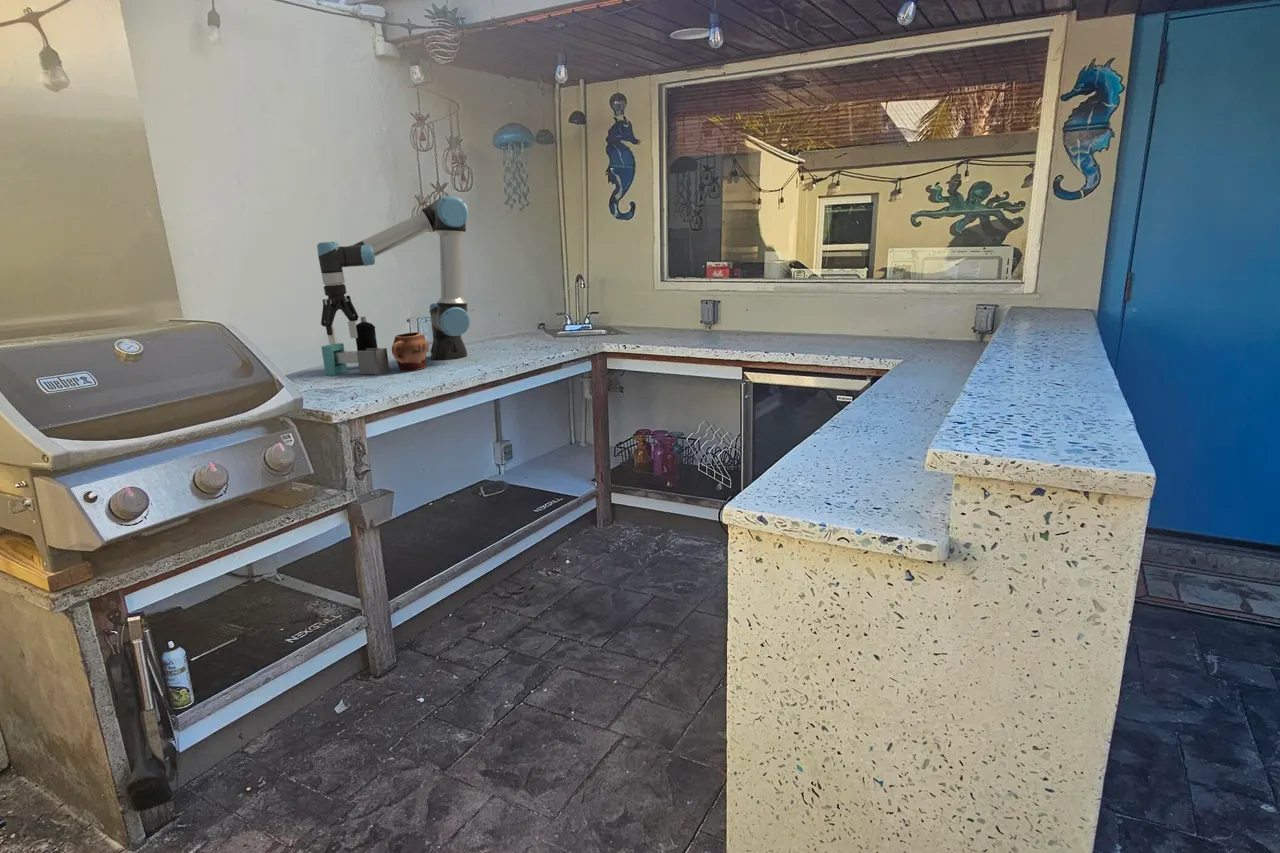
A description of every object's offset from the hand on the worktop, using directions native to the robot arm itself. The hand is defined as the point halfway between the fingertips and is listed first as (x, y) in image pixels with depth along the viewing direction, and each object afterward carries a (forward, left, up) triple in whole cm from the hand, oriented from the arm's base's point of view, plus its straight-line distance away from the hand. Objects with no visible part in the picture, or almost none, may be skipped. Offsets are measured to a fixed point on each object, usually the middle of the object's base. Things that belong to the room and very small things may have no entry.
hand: (343, 340), depth 278 cm
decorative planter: (-23, -7, -13) cm, 27 cm away
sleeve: (-12, 0, -13) cm, 17 cm away
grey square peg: (-2, 0, -9) cm, 9 cm away
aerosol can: (0, -14, -13) cm, 19 cm away
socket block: (+5, 0, -13) cm, 13 cm away
